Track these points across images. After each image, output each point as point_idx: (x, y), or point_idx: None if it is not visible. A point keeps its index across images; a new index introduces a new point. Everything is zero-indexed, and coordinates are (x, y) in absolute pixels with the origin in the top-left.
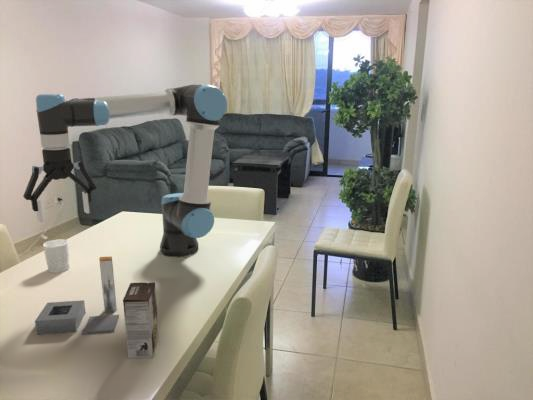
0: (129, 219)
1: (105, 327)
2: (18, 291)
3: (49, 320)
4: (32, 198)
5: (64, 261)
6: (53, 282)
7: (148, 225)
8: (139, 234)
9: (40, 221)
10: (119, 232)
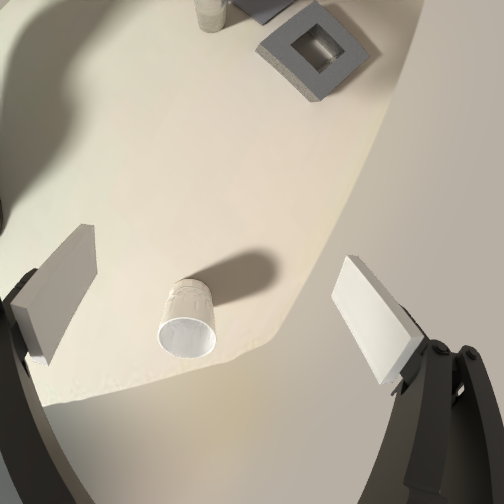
0: None
1: None
2: (296, 252)
3: (351, 35)
4: (448, 355)
5: (181, 291)
6: (228, 242)
7: None
8: None
9: (358, 258)
10: None
